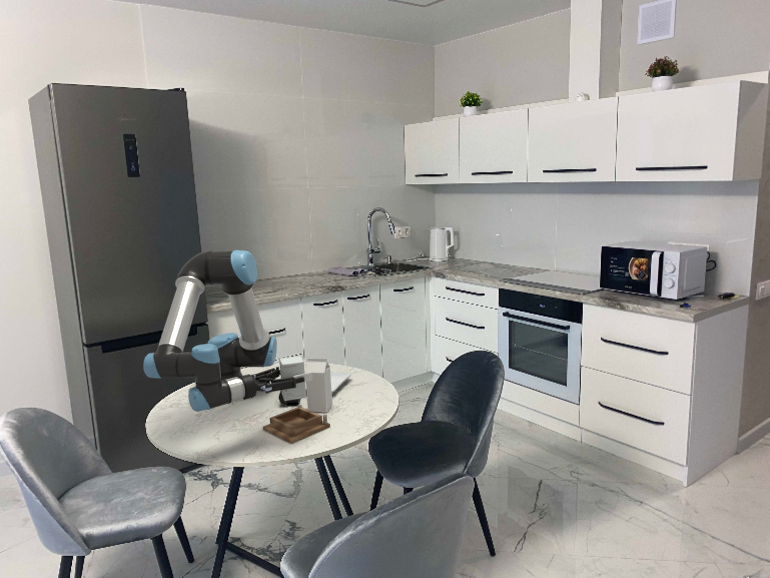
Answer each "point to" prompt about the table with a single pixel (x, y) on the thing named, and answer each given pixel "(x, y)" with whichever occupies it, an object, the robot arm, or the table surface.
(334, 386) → the salad plate
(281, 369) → the supplement box
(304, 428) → the jig
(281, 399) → the end cap
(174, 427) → the table surface
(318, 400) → the milk carton
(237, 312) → the robot arm
